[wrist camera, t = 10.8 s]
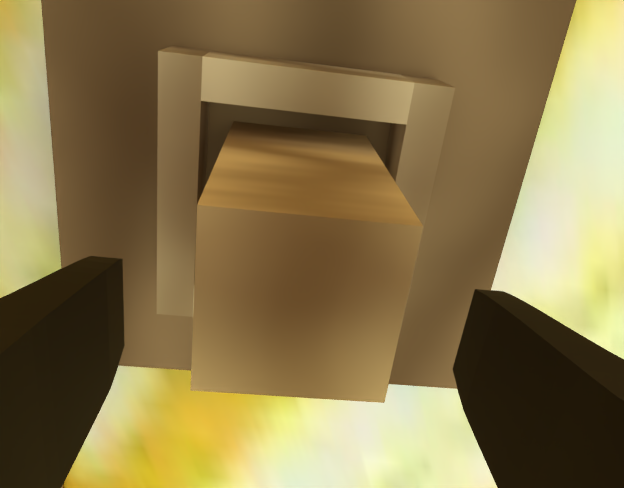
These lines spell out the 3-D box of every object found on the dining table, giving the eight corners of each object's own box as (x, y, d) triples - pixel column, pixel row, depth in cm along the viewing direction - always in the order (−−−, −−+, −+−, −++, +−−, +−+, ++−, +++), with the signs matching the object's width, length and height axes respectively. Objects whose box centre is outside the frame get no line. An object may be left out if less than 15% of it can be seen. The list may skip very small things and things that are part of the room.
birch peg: (226, 243, 19) (190, 390, 12) (233, 120, 17) (197, 204, 10) (346, 254, 19) (384, 402, 12) (365, 135, 18) (423, 226, 10)
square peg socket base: (77, 347, 22) (48, 396, 19) (47, -113, 15) (-5, -139, 13) (454, 373, 23) (477, 423, 20) (570, -35, 17) (626, -42, 14)
